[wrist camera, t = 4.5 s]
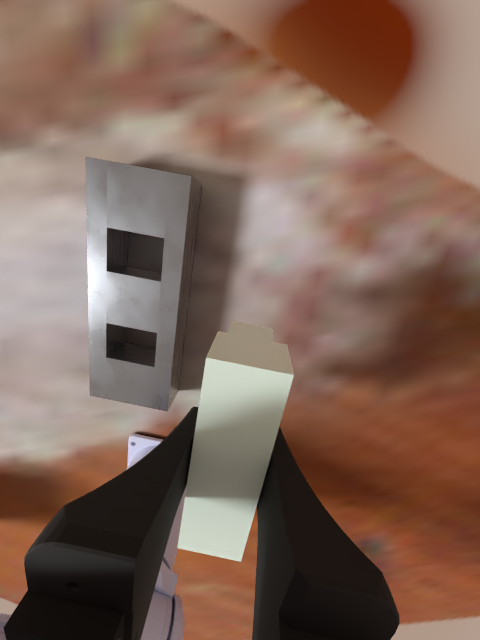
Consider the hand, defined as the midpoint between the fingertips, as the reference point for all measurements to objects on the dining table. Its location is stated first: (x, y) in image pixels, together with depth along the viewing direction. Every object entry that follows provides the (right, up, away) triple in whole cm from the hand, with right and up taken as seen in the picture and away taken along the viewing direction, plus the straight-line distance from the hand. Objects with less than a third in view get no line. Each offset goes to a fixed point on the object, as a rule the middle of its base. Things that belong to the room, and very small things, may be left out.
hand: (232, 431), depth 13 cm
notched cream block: (0, +1, +4) cm, 4 cm away
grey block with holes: (-7, +8, +9) cm, 14 cm away
